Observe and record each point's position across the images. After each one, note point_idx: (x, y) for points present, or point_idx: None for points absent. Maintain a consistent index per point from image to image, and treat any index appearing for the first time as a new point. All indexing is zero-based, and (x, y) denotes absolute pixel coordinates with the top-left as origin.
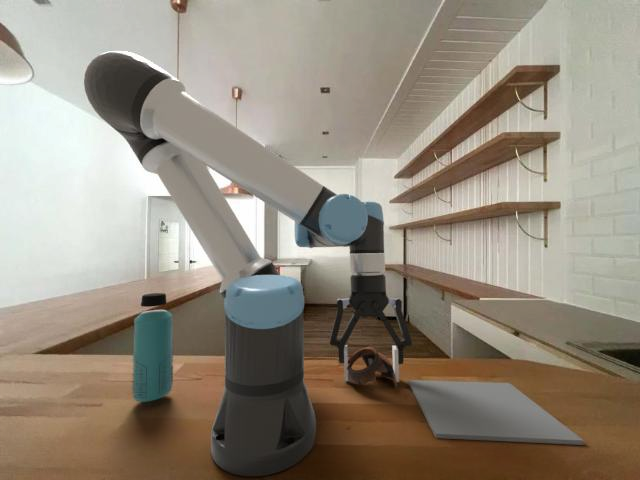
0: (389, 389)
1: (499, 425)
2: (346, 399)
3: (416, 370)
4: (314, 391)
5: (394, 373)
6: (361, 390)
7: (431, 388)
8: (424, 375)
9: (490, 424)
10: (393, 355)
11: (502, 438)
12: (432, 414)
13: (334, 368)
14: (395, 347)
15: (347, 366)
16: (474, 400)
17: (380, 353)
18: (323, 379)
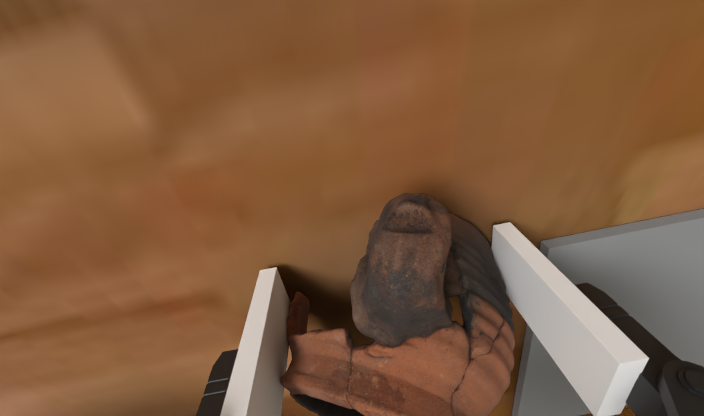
0: (453, 299)
1: None
2: None
3: (649, 86)
4: (195, 373)
5: (505, 291)
6: (353, 329)
7: (609, 285)
8: (655, 145)
9: None
10: (564, 342)
11: None
12: (538, 388)
13: (161, 186)
14: (625, 387)
15: (284, 366)
16: (697, 314)
17: (487, 390)
18: (176, 303)
